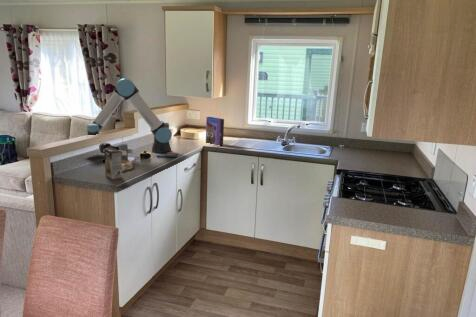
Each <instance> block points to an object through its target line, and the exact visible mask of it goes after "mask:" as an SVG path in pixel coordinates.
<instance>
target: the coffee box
mask: <svg viewBox="0 0 476 317" xmlns="http://www.w3.org/2000/svg"><path fill="white" fill-rule="evenodd" d="M104 153H105V154H104ZM104 153H103V154H104V169H105V171H104V172H105V173H104V174H105V177H108V178H110V179H111V180H114V179H119V178H123V175H122V173H123V171H122V166H121V151H119V150H117V149H115V148H113V149H104Z"/></svg>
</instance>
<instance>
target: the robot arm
mask: <svg viewBox="0 0 476 317" xmlns="http://www.w3.org/2000/svg"><path fill="white" fill-rule="evenodd" d="M123 100H124V101H126V102H129V103H130V104H131V106H132V107H133V108H134V109H135V111H136V112H137V113H138V114H139V116H140V117H141V118H142V119H143V120H144V122H145V123H146V124H147V125H148V126H149V128H150V132H151V134H152V135H153V143H152V147H151V153H153V154H154V153H155V154H169V153H171V152H172V147H171V145H170V141H171V140H172V131H171V129H170V124H169V122H164V121H163V120H160V119H159V118H158V116H157V114H156V113H155V112H154V111H153V110H152V109H151V108H150V106H149V105H148V103H147V102H146V101H145V100H144V99H143V98H142V96H141V95H140V90H139V89H138V88H137V85H135V84H134V82H133V80H132V79H131V78H130V79H129V78H127V77H122V78H120V79H118V81H117V82H116V85H115V88H114V89H113V91H112V94H111V96H110V98H109V99H108V100H107V101H106V103H104V104H105V105H103V107H102V108H101V110H100V111H99V113H98V115H97V116H96V117H95V119H94V120H93V122H92V123H88V124H87V125H86V132H87V136H88V135H96V134H99V135H100V133H101V131H102V129H103V128H104V126H105V125H106V123H107V122H108V120H109V119H110V118H111V116H112V115H113V114H114V112H115V110H116V109H117V108H118V107H119V105H120V103H121V102H122V101H123ZM101 142H102V143H101V144H100V145H99V150H100V152H101V153H100V152H99V153H100V154H104V155H105V153H104V149H113V148H115V149H117V150H119V145H116V146H115V145H112V144H111V143H109V142H103V141H101ZM119 151H121V155H127V154H126V151H122V150H119ZM128 154H132V155H133V154H134V149H131V148H128Z"/></svg>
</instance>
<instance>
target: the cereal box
mask: <svg viewBox="0 0 476 317" xmlns="http://www.w3.org/2000/svg"><path fill="white" fill-rule="evenodd" d="M205 119H206V120H205V121H206V123H205V125H206V127H205V144H207V143H210V144H209V145H211V144H215V145H223V146H224V133H225V132H224V131H225V130H224V129H225V118H220V117H215V116H214V117H213V116H206V118H205ZM215 145H214V146H215Z"/></svg>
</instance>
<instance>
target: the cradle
mask: <svg viewBox="0 0 476 317" xmlns="http://www.w3.org/2000/svg"><path fill="white" fill-rule="evenodd" d="M133 164H134V163H133V161H129V160H128V161H125V160H121V166H122V172H124V171H128V170H131V169H134V165H133Z"/></svg>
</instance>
